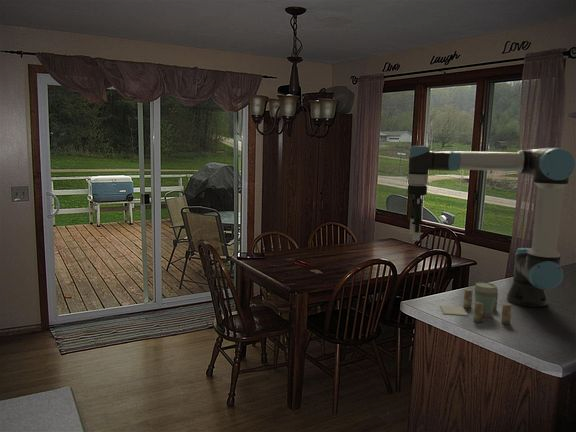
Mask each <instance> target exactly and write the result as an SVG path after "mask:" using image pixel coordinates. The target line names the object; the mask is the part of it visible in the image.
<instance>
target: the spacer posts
mask: <svg viewBox="0 0 576 432" xmlns="http://www.w3.org/2000/svg"><path fill="white" fill-rule="evenodd" d="M463 295H464V296H463V306H462V307H463V308H464V309H465V308H466V309H472V303H473V302H472V301H473V290H472V289H469V288H467V289H466V288H465V289H464V292H463ZM498 298H499V292H497V295H496V299H495V304H494V309H493V310H496V311H497V309H498ZM483 305H484V304H483V303H481V302H474V309H473V310H474V311H473V313H474V314H473V322H474V323H478V324H482V323H483V318H484V317H483ZM501 309H502V310H501V311H502V312H501V322H502V323H501V324H503V325H511V319H512V303H511V304H510V303H503V304H502V308H501Z"/></svg>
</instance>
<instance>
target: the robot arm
mask: <svg viewBox="0 0 576 432" xmlns="http://www.w3.org/2000/svg"><path fill="white" fill-rule="evenodd" d="M575 168H576V160H575V157H574V156H573V154H572V153H571V152H570V151H569V150H567V149H564V148H561V147H556V146H555V147H541V148H535V149H519V150H518V151H517V152H515V151H513V152H511V151H509V152H508V151H466V150H465V151H463V150H462V151H459V150H458V151H457V150H456V151H455V150H454V151H453V150H452V151H451V150H436V151H435V150H433V151H432V150H431V149H430V147H429V146H428V145H412V146H411V147H410V148H409V156H408V172H407V173H408V176H406V179H407V184H408V185H407V192H406V193H407V195H409V196H411V199H410V202H411V203H410V214H409V216H410V217H409V218H410V219H409V220H410V222H409V235H412V241H413V242H414V241H417V242H419V241H421V224H422V208H423V207H422V205H423V199H422V198H421V196H427V194H428V193H427V192H428V186H427V185H428V183H429V182H428V180H429V178H428V177H429V171H441V172H442V171H443V172H444V171H446V172H448V171H449V172H454V171H456V172H457V171H459V170H461V171H462V170H464V171H465V170H467V171H470V170H471V171H502V172H506V171H507V172H508V171H509V172H512V171H513V172H517V174H519V175H520V174H523V175H524V174H525V175H531V176H533V184H534V185H535V186H536V187H537V190H536V191H537V192H536V202H535V212H534V221H533V222H534V223H533V231H532V233H533V234H532V243H531V247H518V248H517V249H516V250H515V254H514V265H513V266H514V269H513V279H512V283H511V286H510V287H509V290H508V291H507V295H506V296H507V297H506V299H507V301H508V302H510V303H511V304H514V305H519V306H521V307H528V308H542V307H546V306H547V304H548V298H547V294H546V291H547V290H552V289H554V288H557V287H558V286H559V285H560V284H561V283H562V281H563V280H564V279H563V278H564V270H563V268H562V266H561V254H560V253H559V252H558V241H559V232H560V231H559V230H560V222H561V214H562V213H561V212H562V203H563V202H562V201H563V193H564V192H563V191H564V188H565V187H567V186H568V185H569V180H570V176H571V175H572V174H573V172H575Z"/></svg>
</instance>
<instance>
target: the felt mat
mask: <svg viewBox="0 0 576 432" xmlns="http://www.w3.org/2000/svg"><path fill="white" fill-rule="evenodd" d="M439 307H440V310H441V311H442V313H443V315H448V314H450V316H451V315H453V316H464V317H465V316H466V317H468V316H469V314H468V313H467V311H466V309H465V307H463V306H450V305H448V306H447V305H439Z"/></svg>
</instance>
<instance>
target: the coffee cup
mask: <svg viewBox="0 0 576 432" xmlns="http://www.w3.org/2000/svg"><path fill="white" fill-rule="evenodd" d="M473 290H474V298H475V299H474V301H475V302H481V303H483V304H484V305H483V318H492V317H493V315H494V314H493V313H494V311H493V309H494V304H495V299H496V295H497V293H499V292H498V290H499V289H498V286H497V285H496V284H493V283H492V282H491V283H490V282H481V281H480V282H476V283H475V285H474V288H473ZM475 302H474V303H475Z"/></svg>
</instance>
